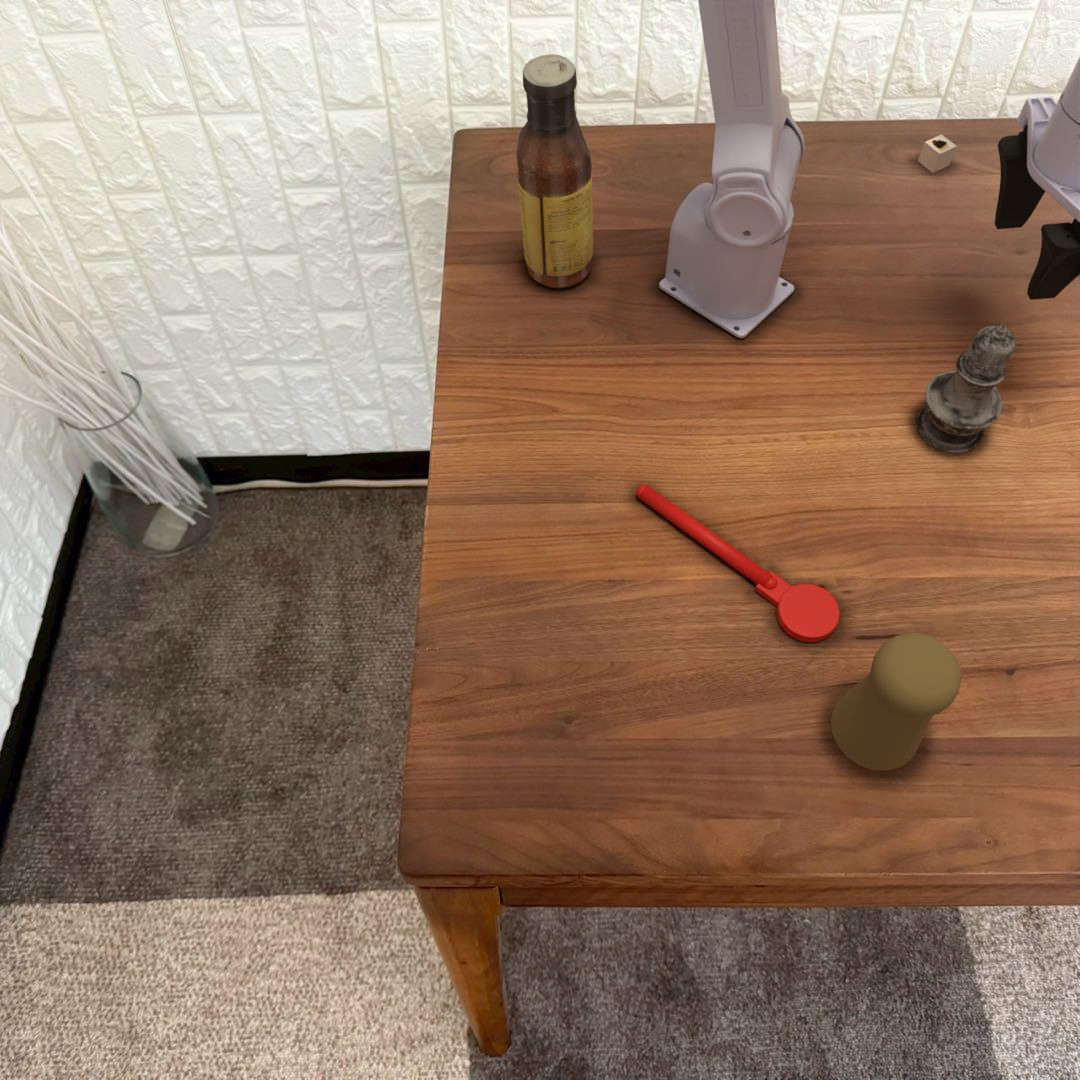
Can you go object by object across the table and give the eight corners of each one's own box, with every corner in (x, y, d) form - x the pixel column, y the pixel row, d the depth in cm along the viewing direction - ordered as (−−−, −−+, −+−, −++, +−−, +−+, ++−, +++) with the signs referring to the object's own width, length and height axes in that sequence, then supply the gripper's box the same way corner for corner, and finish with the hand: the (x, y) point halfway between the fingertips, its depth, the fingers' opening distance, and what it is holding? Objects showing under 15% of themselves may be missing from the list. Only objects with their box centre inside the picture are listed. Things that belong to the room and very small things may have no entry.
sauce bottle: (603, 255, 93) (612, 56, 76) (575, 300, 91) (579, 105, 74) (538, 235, 95) (533, 35, 78) (509, 279, 92) (498, 82, 75)
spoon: (619, 509, 79) (620, 501, 78) (655, 475, 81) (656, 466, 80) (814, 654, 73) (817, 647, 72) (849, 613, 74) (852, 606, 73)
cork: (821, 691, 71) (861, 622, 62) (906, 684, 71) (959, 613, 62) (842, 775, 68) (887, 715, 59) (930, 767, 68) (990, 706, 59)
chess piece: (987, 461, 81) (1048, 361, 71) (912, 450, 82) (962, 350, 71) (985, 403, 84) (1044, 300, 74) (913, 393, 85) (961, 289, 74)
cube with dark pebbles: (932, 173, 98) (940, 151, 96) (917, 161, 99) (925, 139, 97) (949, 165, 99) (957, 143, 97) (934, 153, 100) (942, 131, 98)
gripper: (1210, 174, 64) (1109, 324, 76) (1120, 36, 71) (1041, 192, 83) (1101, 183, 64) (1017, 332, 75) (1022, 44, 71) (957, 199, 83)
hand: (1024, 259), depth 79 cm, fingers open, 7 cm apart
